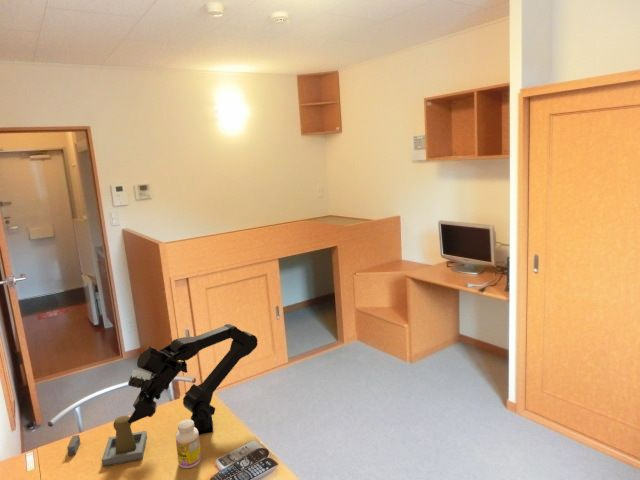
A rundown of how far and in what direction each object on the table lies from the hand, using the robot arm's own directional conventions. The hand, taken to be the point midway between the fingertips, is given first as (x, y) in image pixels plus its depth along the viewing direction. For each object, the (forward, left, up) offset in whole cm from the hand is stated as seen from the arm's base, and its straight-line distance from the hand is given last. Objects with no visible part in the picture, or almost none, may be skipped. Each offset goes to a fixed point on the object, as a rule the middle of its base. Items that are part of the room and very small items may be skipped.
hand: (131, 414), depth 140 cm
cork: (+3, 0, -12) cm, 12 cm away
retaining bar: (+20, -6, -12) cm, 24 cm away
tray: (+3, 0, -12) cm, 13 cm away
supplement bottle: (-17, +12, -13) cm, 24 cm away
